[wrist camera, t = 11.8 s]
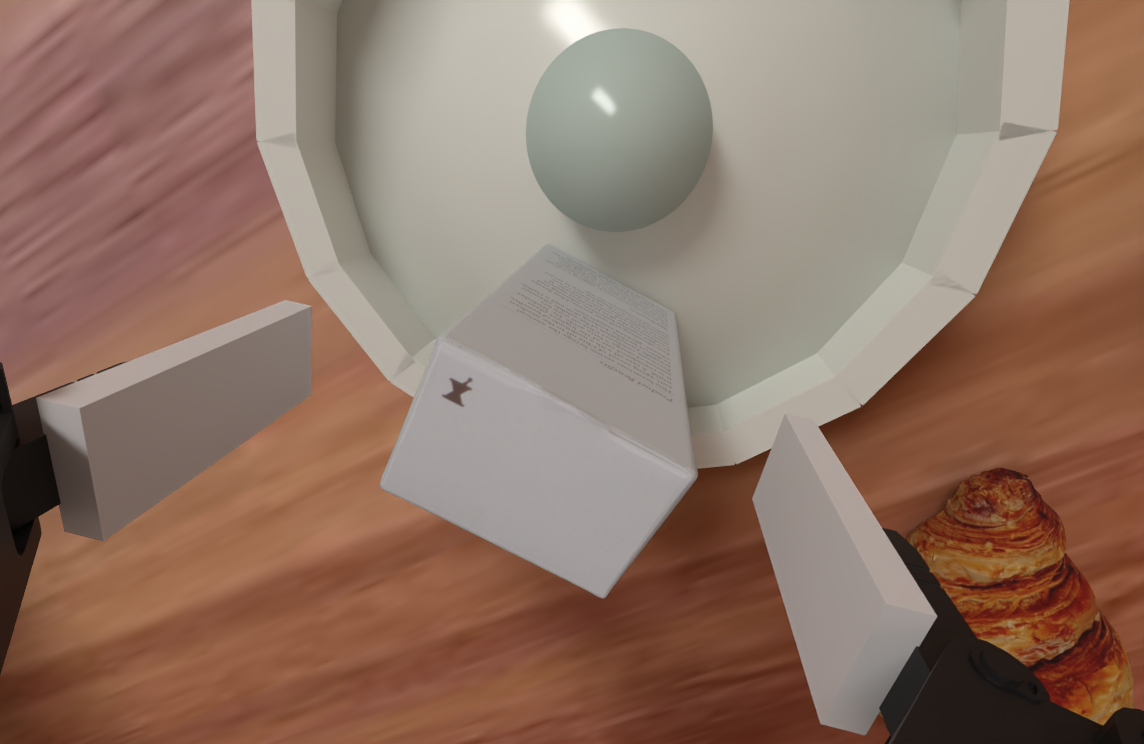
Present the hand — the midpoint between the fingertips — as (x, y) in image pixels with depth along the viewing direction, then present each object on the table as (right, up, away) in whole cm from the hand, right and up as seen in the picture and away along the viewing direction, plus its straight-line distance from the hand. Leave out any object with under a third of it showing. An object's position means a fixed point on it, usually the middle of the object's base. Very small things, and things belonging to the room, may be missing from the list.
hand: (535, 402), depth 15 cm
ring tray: (+3, +10, +6) cm, 12 cm away
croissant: (+20, -12, +12) cm, 26 cm away
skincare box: (+2, +3, +8) cm, 9 cm away
